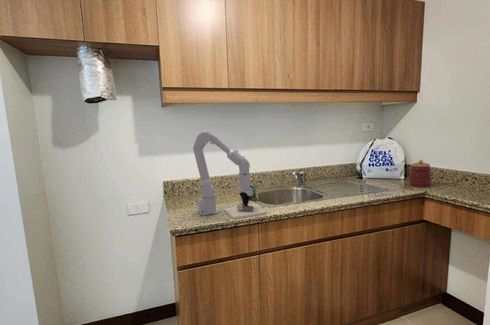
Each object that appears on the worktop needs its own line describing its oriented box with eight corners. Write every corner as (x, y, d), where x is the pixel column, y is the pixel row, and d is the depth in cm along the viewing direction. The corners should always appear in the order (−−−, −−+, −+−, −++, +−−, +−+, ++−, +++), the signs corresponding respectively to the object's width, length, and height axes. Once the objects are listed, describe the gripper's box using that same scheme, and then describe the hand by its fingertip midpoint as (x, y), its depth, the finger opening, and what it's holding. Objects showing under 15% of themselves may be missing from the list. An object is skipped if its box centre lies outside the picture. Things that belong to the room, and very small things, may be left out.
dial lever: (236, 210, 144) (236, 205, 143) (239, 208, 147) (239, 203, 147) (251, 212, 140) (251, 206, 139) (254, 210, 143) (254, 204, 143)
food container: (261, 199, 169) (261, 184, 168) (254, 202, 165) (254, 185, 164) (247, 196, 178) (246, 181, 177) (240, 198, 174) (240, 183, 172)
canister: (431, 188, 181) (432, 161, 178) (408, 186, 187) (409, 161, 185) (430, 184, 192) (431, 159, 189) (409, 182, 198) (409, 158, 196)
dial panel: (233, 219, 135) (233, 217, 135) (224, 210, 150) (224, 208, 150) (266, 214, 141) (266, 211, 141) (254, 206, 156) (254, 204, 156)
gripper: (256, 182, 142) (257, 208, 143) (246, 178, 155) (247, 201, 157) (243, 184, 139) (244, 210, 141) (235, 179, 153) (236, 203, 155)
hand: (245, 205), depth 149 cm, fingers closed
